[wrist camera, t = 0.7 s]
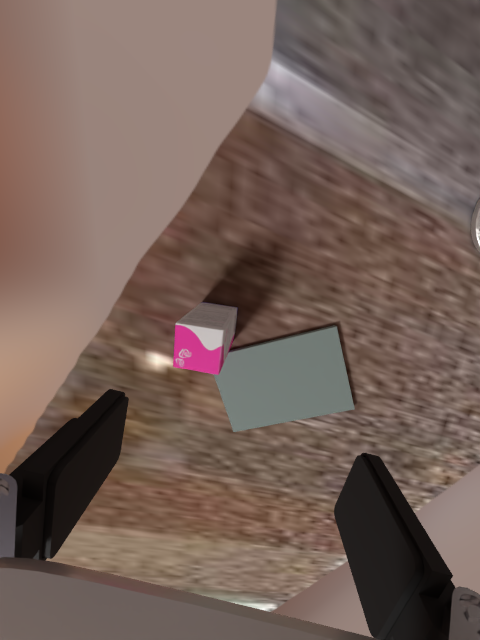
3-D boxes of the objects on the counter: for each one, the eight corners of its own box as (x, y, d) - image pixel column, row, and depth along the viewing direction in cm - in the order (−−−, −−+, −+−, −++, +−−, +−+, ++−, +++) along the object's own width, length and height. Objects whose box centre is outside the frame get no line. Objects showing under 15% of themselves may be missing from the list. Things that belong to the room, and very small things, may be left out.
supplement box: (200, 301, 40) (174, 320, 29) (238, 306, 40) (227, 329, 29) (196, 336, 42) (171, 368, 31) (233, 342, 41) (221, 376, 30)
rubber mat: (335, 324, 39) (336, 326, 38) (352, 406, 42) (354, 409, 41) (209, 355, 42) (208, 357, 42) (234, 428, 45) (233, 431, 45)
